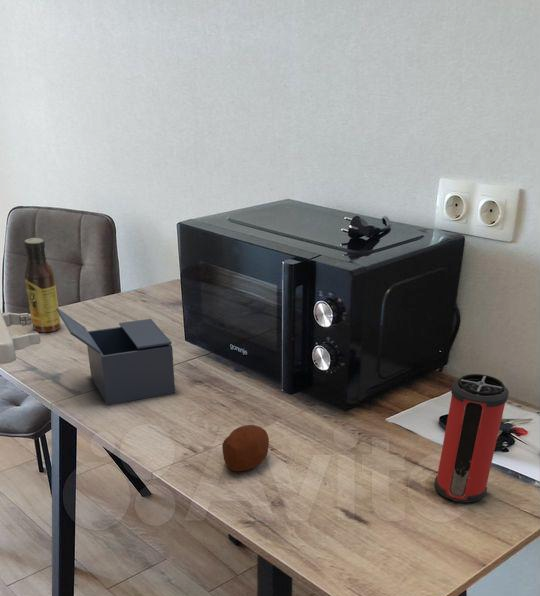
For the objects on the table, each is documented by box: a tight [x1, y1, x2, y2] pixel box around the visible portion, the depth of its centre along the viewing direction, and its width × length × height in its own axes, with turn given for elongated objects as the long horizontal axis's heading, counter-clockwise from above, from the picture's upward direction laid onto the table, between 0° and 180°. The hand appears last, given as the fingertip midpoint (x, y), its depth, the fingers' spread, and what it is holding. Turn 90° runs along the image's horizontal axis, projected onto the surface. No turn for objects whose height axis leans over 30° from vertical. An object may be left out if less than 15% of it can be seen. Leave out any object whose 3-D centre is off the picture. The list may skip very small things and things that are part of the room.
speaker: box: [434, 373, 510, 504], centre depth 103 cm, size 8×8×18 cm
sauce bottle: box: [23, 237, 61, 333], centre depth 154 cm, size 7×6×20 cm
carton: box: [86, 318, 176, 406], centre depth 133 cm, size 13×13×10 cm
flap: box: [56, 308, 101, 354], centre depth 126 cm, size 6×13×1 cm
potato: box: [221, 424, 270, 472], centre depth 111 cm, size 7×9×6 cm
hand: (35, 327), depth 123 cm, fingers open, 8 cm apart
